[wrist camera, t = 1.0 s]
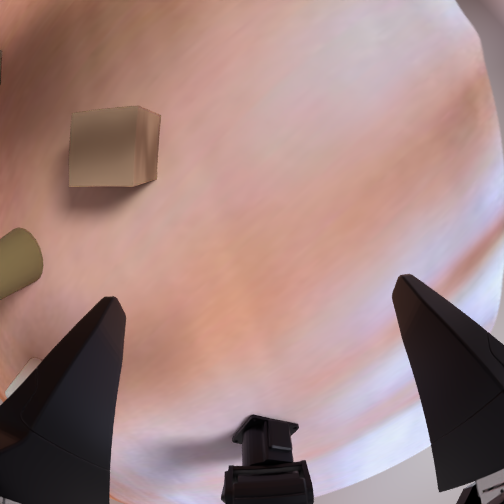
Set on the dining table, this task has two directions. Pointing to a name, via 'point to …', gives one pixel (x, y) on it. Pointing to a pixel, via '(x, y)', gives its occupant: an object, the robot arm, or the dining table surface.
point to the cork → (19, 261)
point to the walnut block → (113, 147)
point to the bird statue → (0, 64)
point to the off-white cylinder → (23, 375)
